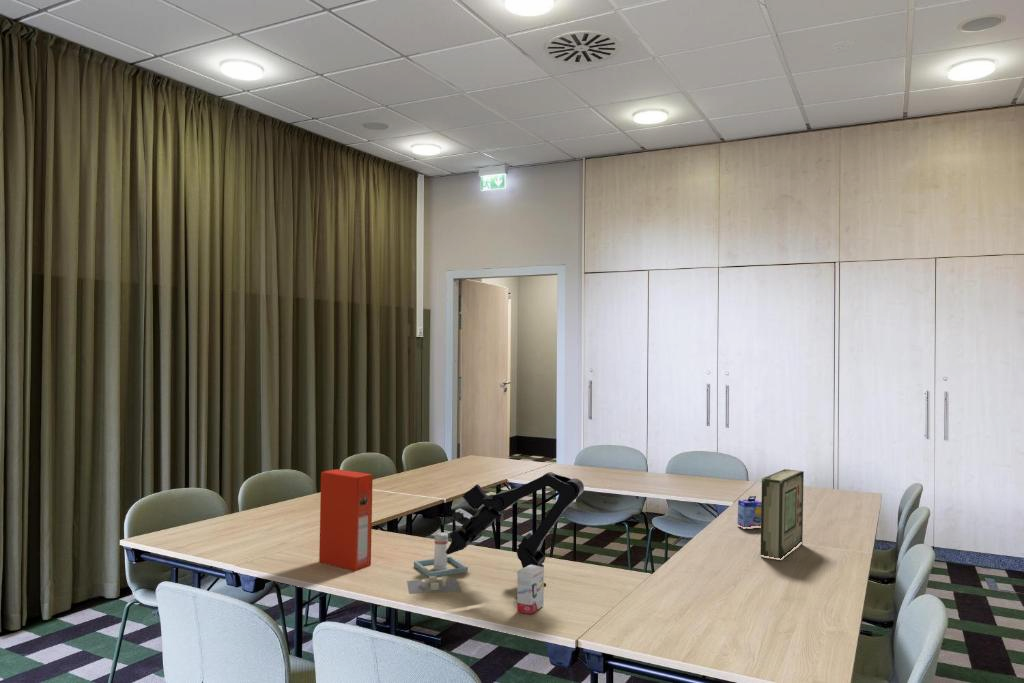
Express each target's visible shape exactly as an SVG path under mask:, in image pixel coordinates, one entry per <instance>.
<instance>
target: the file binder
mask: <svg viewBox="0 0 1024 683" xmlns="http://www.w3.org/2000/svg"><path fill="white" fill-rule="evenodd" d="M373 477H374V476H373V474H372V473H365V472H358V471H352V470H346V469H339V468H336V469H330V470H325V471H321V472H320V505H319V506H320V507H319V508H320V510H319V511H320V512H319V513H320V514H319V549H318V550H319V553H318V555H319V556H318V561H319V563H321V564H325V565H329V566H333V567H338V568H342V569H345V570H348V571H351V572H352V571H353V572H357V571H361V570H363V569H366V568H367V567H370V566H371V565H372V533H373V532H372V528H373V527H372V526H373V522H372V520H373V518H372V517H373V480H374V479H373Z"/></svg>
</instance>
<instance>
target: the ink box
mask: <svg viewBox="0 0 1024 683" xmlns="http://www.w3.org/2000/svg"><path fill="white" fill-rule="evenodd" d="M516 575H517V576H516V577H517V580H516V581H517V585H516V586H517V587H516V590H517V591H516V593H517V595H516V596H517V597H516V600H517V602H516V603H517V604H516V606H517V613H523V614H530V615H532V614H534V613H535V612H536V611H538V610H539V609H541V608H543V606H544V602H545V601H544V600H545V599H544V596H545V595H544V590H545V589H544V588H545V586H544V583H545V580H544V579H545V566H544V567H541V566H536V565H528V566H526V567H524V568H523V567H522V568H521V569H518V570H517V574H516Z"/></svg>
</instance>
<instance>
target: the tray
mask: <svg viewBox="0 0 1024 683" xmlns="http://www.w3.org/2000/svg"><path fill="white" fill-rule="evenodd" d="M449 563H451V564H452V565H454V566H455V567H456V568H449V569H448V568H447V570H441V571H436V570H434V571H430V570H428V569H427V568H426V567H427V566H434V558H427V559H422V560H421V559H420V560H414V561H413V568H416V569H417V570H419V571H420V572H421V573H423V574H424V575H425V576H427V577H428V578H429V577H431V576H436V577H444V576H450V575H456V574H462V573H468V572H469V567H468V566H466V565H465V564H463V563H462V562H460V561H459V560H457V559H456V558H454V557H453V556H452V555H451V556H447V564H449Z"/></svg>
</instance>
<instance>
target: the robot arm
mask: <svg viewBox="0 0 1024 683" xmlns="http://www.w3.org/2000/svg"><path fill="white" fill-rule="evenodd" d="M546 487H549V488H550V489H552V490H554V491H555V492H557V493H558V496H557V499H556V500H555V503H554V504H553V505H552V507H551V508H550V510H549V511H548V513H547V514H546V515H545V517H544V519H543V520H542V521H541V523H539V525H538V527H537V528H536V529H535V531H534V532H533V534H532V533H531V532H528V533H527V534H526V535H524V536H523V538H522V539H521V542H520V543H519V544H517V546H516V547H517V550H516V554H517V555H516V556H517V559H518V560H519V561H520V563H521V566H522V568H524V567H526V566H528V565H536V566H541V567H544V568H545V566H544V563H545V561H546V557H547V556H546V555H545V554H544V553H543V552H542V550H541V548H542V546H543V545H544V544H543V543H544V540H545V539H546V537H547V536H548V534H549V533H550V531H551V530H552V529H553V528H554V526H555V525H556V524H557V522H558V520H559V519H560V518H561V516H562V515H563V514H564V512H565V511H566V510H567V509H568V507H569V506H570V505H571V504H572V503H573V502H574V501H576V500H577V499H578V498H579V497H580V496H581V495H582V493H584V490H585V486H584V483H583V482H582V480H580V479H579V478H576V477H575V478H570V477H567V476H564V475H559V474H557V473H554V472H553V471H552V472H551V471H549V472H546V473H544V474H543V475H541V476H540V477H538V478H536V479H533V480H531V481H528V482H527V483H524V484H523V485H521V486H519V487H516V488H510V489H507V490H503V491H500V492H498V493H496V494H490V495H487V494H486V493H485V491H484V490H483V489H482V488H481V486H480V485H479V484H478V483H477V484H475V485H474V486H473V487H471V488H470V489H469V490H468V491H466V492H465V493H464V494H463V495H462V499H463V500H464V501H465V503H467V505H469V507H470V508H471V510H473V511H474V510H477V511H478V512H477V513H475V514H474V515H472V514H471V513H469V512H468V511H466V510H464V509H463V508H457V509H455V511H454V513H453V514H452V517H451V519H452V520H453V521H454V522H457V523H458V524H460V525H461V526H460V527H461V528H462V529H460V528H459V529H456V530H454V531H452V533H451V534H450V535H449V536H450V539H451V542H450V544H449V546H447V551H446V554H447V556H448V555H450V554H453V553H456V552H459V551H463V550H464V549H466V548H467V547H468V546H469V545H470V544H471V543H472V542H475V541H477V540H479V539H480V538H482V537H483V536H484V535H485V534H486V530H487V529H488V528H489V526H491V524H492V523H493V522H495V520H496V521H497V522H498V523H501V522H503V521H504V513H503V512H504V511H505V510H507V509H509V508H510V507H511V506H513V505H514V504H516V503H517V502H518V501H519V500H520V499H523V498H525V497H527V496H530V495H531V494H533V493H535V492H539V490H542V489H545V488H546ZM463 530H464V531H463ZM545 586H547V583H546V582H544V587H545Z"/></svg>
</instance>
